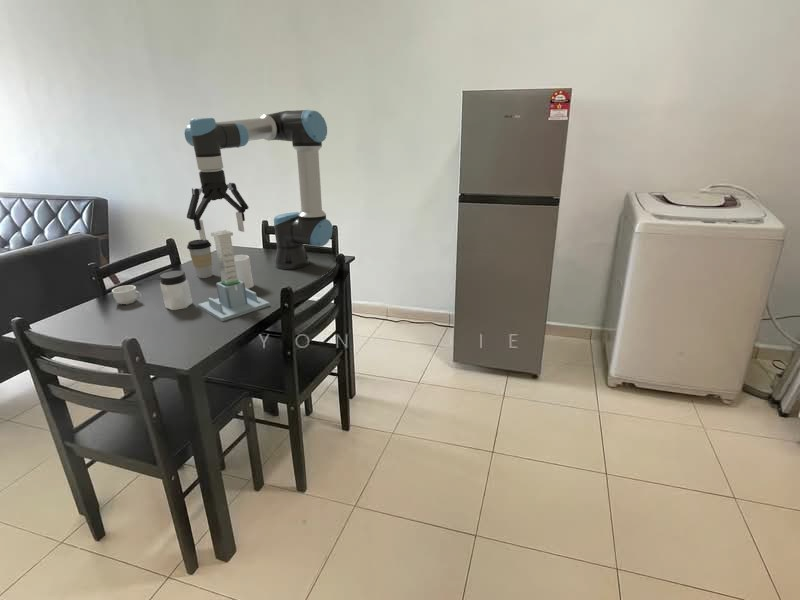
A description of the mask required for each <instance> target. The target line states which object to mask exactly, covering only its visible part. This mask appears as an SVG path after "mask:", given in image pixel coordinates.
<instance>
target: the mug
mask: <svg viewBox="0 0 800 600" xmlns="http://www.w3.org/2000/svg"><path fill="white" fill-rule="evenodd" d="M234 259H235V265H236V271H237V278H238V280H240V281H242V282H244V283H245V288H247V289H249V290H250V289H252V288H253V287H254V286H255V283H254V280H253V274H252V268H251V267H252V266H251V260H250V259H251V258H250V256H249V255H247V254H236V255H235V254H234Z"/></svg>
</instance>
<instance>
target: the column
mask: <svg viewBox="0 0 800 600" xmlns="http://www.w3.org/2000/svg"><path fill="white" fill-rule="evenodd" d="M210 236H211V237H213V239H214V244H215V249H216V250H215V251H216V255H217V262H218V267H219V273H220V274H219V275H220V279H221V280H220V282H221V283H222V285H224V286H226V287H227V286H231V285H235V284H238V283H239V280H238V278H237V271H236V265H235V259H234V256H235V254H234V253H235V252H234V248H233V241H232V236H234V232H232V231H229V230H226V229H224V230H218V231H213V232H210Z"/></svg>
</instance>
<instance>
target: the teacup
mask: <svg viewBox="0 0 800 600" xmlns="http://www.w3.org/2000/svg"><path fill="white" fill-rule="evenodd" d="M111 293H112V296H113V298H114V301H115V302H116V303H117V304H119V305H122V304H126V305H130V303H131V304H133V303H134V302H136V300H138V299H140V298H141V297H142V294H141V292H140V291H138V290H137V287H136V286H135V285H132V284H128V285H127V284H126V285H121V286H116V287H115V288H113V289H112V290H111ZM138 295H139V296H138Z"/></svg>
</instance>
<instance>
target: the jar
mask: <svg viewBox="0 0 800 600" xmlns="http://www.w3.org/2000/svg"><path fill="white" fill-rule="evenodd" d="M159 279H160V283H159V287H160V290H161V293H162V298H163V299H162V300H163V302H164V306H165V307H164V308H166V309H169V310H171V311H178V310H183V309H187V308H188V307H189V306H191V305H192V304H193V299H192V294H191V293H192V292H191V290H190V289H191V288H190V285H189V279H187V277H186V272H185V271H184V270H171V271H166V272H164V273H161V274H160V275H159Z"/></svg>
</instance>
